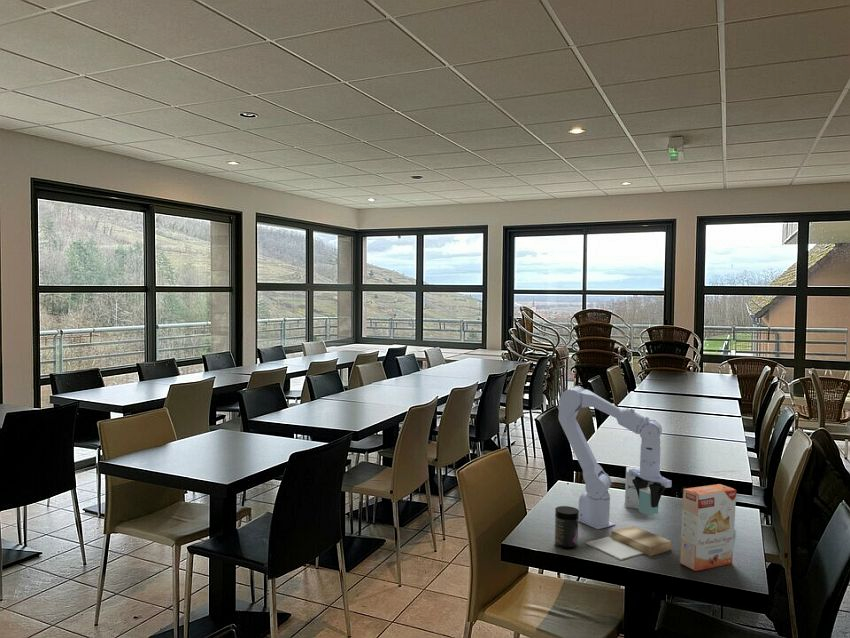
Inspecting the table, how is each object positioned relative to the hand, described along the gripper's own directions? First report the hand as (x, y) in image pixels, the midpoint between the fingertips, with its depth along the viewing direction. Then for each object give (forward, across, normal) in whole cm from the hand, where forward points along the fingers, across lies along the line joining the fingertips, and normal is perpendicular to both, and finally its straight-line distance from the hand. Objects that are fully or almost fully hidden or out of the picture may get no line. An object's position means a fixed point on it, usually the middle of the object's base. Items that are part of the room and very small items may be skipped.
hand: (648, 504), depth 192 cm
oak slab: (+9, -5, +9) cm, 14 cm away
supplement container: (+9, +5, +29) cm, 31 cm away
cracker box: (+9, -23, +4) cm, 25 cm away
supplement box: (+9, +19, -17) cm, 27 cm away
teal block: (+2, 0, 0) cm, 3 cm away
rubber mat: (+9, -4, +18) cm, 21 cm away
